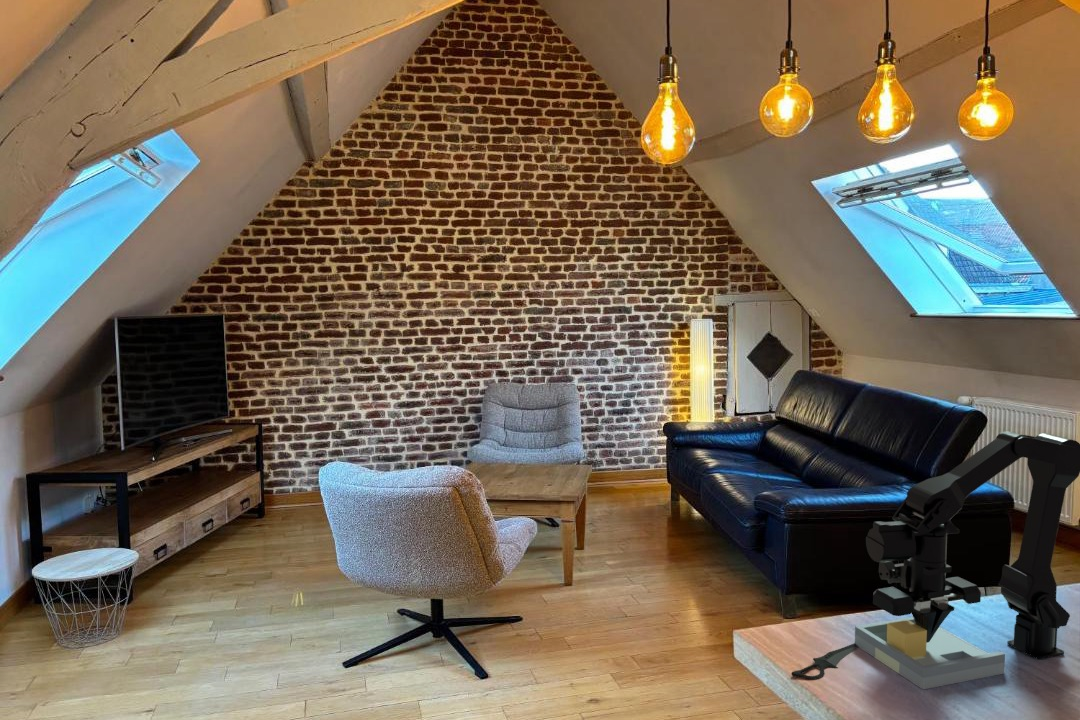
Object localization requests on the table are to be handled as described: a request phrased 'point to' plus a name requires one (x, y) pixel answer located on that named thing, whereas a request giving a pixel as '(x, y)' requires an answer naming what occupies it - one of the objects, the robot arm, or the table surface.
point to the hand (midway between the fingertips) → (925, 641)
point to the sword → (826, 662)
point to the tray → (931, 657)
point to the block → (907, 638)
